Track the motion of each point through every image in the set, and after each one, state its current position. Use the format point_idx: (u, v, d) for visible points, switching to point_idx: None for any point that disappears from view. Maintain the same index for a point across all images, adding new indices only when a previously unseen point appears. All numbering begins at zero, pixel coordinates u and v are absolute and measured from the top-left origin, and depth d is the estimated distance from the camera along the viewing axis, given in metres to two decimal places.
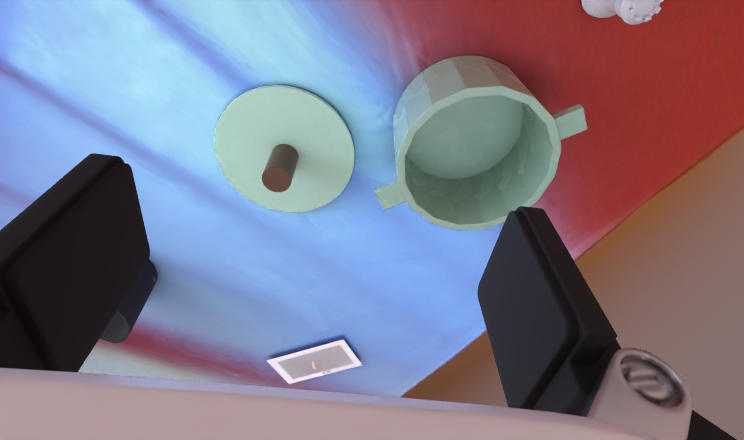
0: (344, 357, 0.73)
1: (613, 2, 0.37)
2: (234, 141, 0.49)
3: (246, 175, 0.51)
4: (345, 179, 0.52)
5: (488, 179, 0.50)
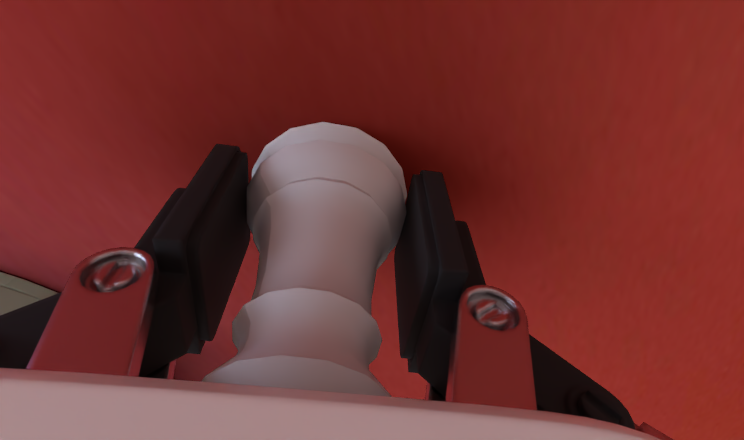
0: None
1: None
2: None
3: None
4: None
5: None
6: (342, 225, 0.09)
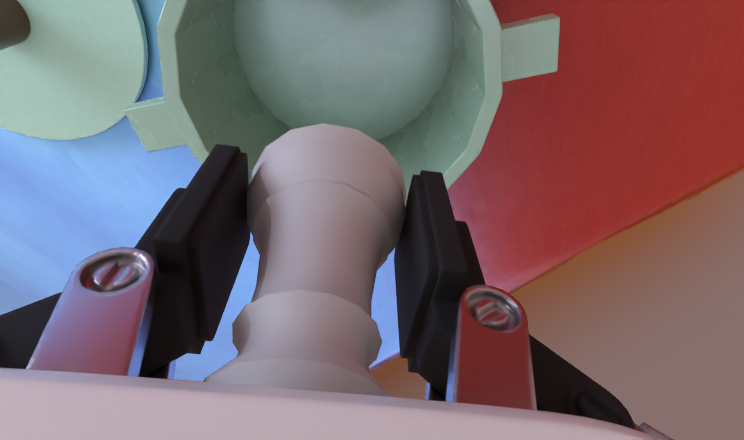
0: None
1: None
2: None
3: None
4: (128, 95, 0.28)
5: None
6: (342, 226, 0.09)
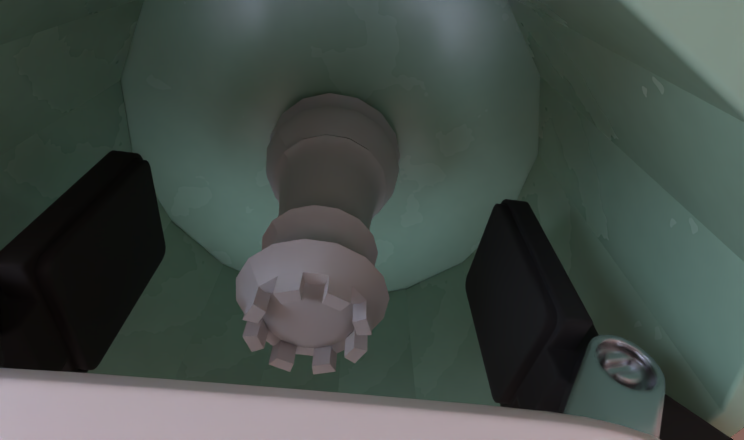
0: None
1: None
2: None
3: None
4: None
5: (393, 325, 0.17)
6: (346, 169, 0.11)
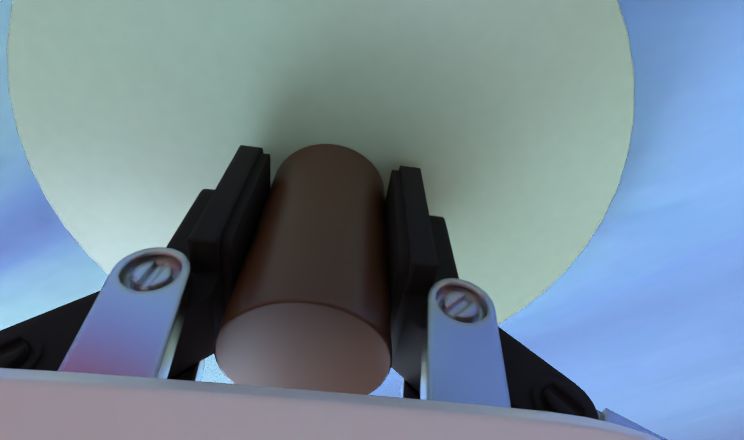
0: None
1: None
2: None
3: None
4: None
5: None
6: None
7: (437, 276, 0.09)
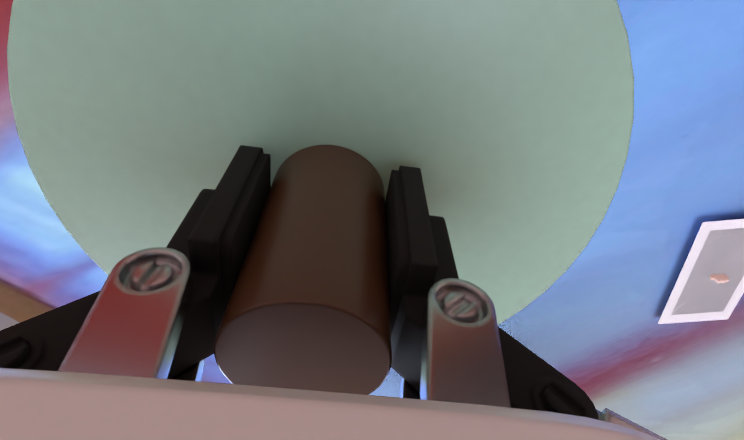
0: None
1: None
2: None
3: None
4: None
5: None
6: None
7: (437, 276, 0.09)
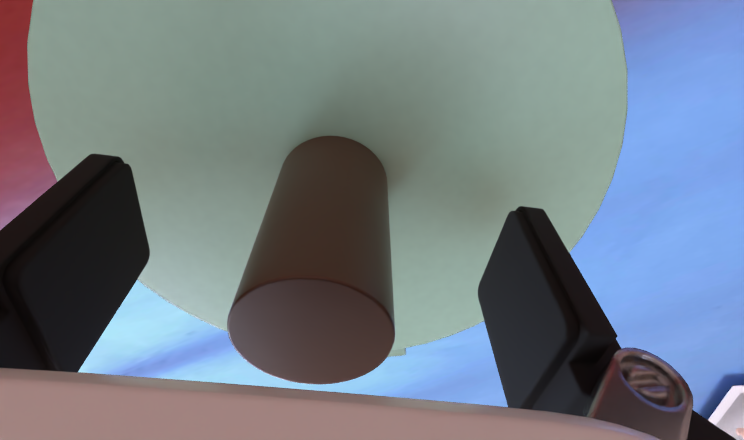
0: None
1: None
2: None
3: None
4: None
5: None
6: None
7: None
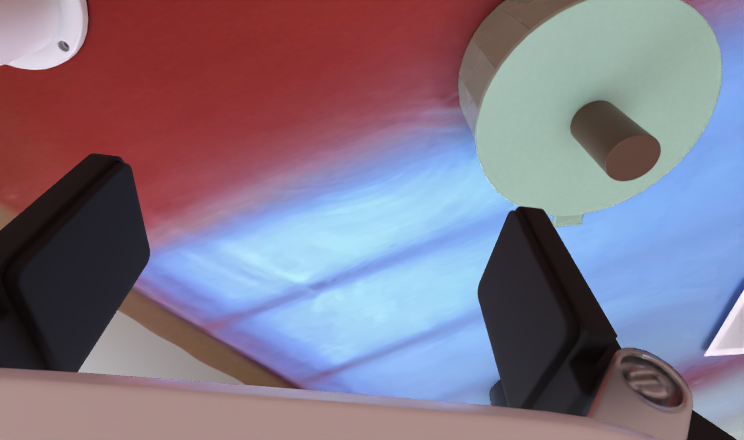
0: None
1: None
2: (529, 180, 0.33)
3: (584, 189, 0.33)
4: (704, 35, 0.26)
5: None
6: None
7: None
